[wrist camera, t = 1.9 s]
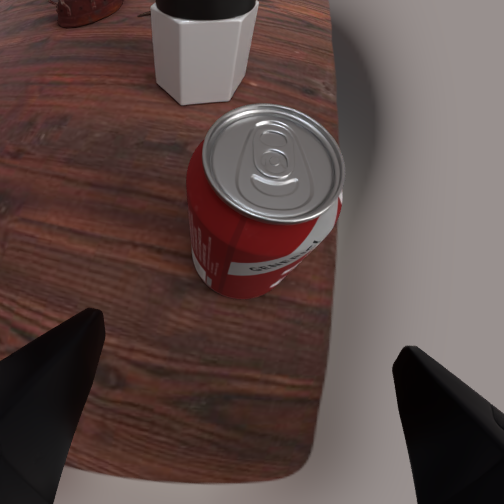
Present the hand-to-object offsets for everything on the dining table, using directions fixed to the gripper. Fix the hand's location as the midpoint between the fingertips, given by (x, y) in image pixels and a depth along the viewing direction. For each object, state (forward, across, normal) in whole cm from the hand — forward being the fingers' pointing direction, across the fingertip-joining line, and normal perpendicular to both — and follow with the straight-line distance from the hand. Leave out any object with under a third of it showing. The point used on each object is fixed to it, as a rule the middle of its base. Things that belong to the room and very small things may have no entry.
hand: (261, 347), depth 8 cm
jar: (+26, +6, -8) cm, 28 cm away
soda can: (+14, 0, +4) cm, 15 cm away
